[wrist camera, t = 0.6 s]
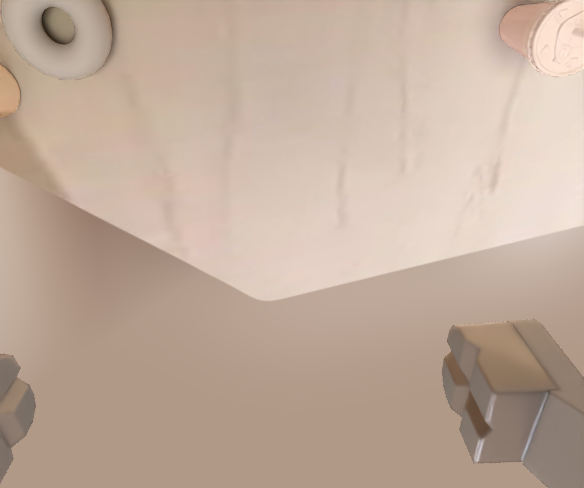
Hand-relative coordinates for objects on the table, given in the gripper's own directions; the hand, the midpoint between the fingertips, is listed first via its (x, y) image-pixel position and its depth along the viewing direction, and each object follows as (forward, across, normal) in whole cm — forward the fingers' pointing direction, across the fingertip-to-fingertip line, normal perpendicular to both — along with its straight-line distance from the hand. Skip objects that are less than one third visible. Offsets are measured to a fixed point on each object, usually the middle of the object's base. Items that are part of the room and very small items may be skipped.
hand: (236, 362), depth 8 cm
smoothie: (+44, -26, 0) cm, 51 cm away
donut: (+44, +20, -3) cm, 48 cm away
